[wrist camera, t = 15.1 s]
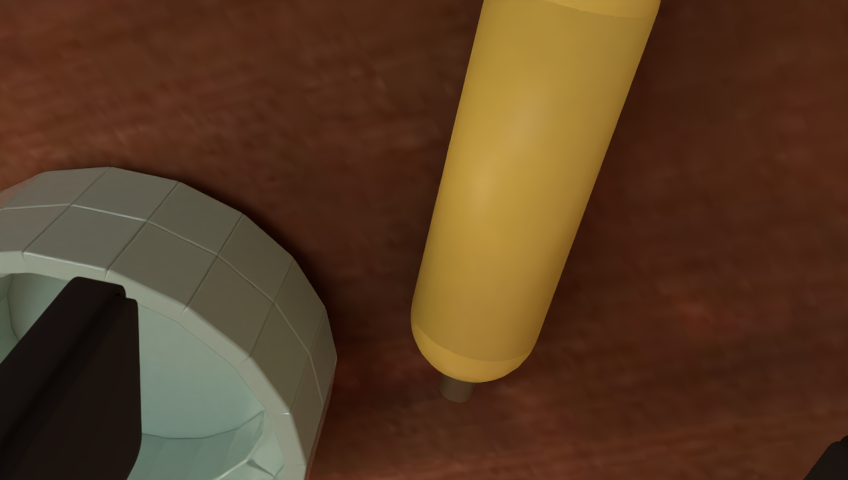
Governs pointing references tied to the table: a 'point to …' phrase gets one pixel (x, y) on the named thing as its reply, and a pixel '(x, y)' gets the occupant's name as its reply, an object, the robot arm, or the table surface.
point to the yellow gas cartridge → (520, 176)
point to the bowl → (181, 317)
